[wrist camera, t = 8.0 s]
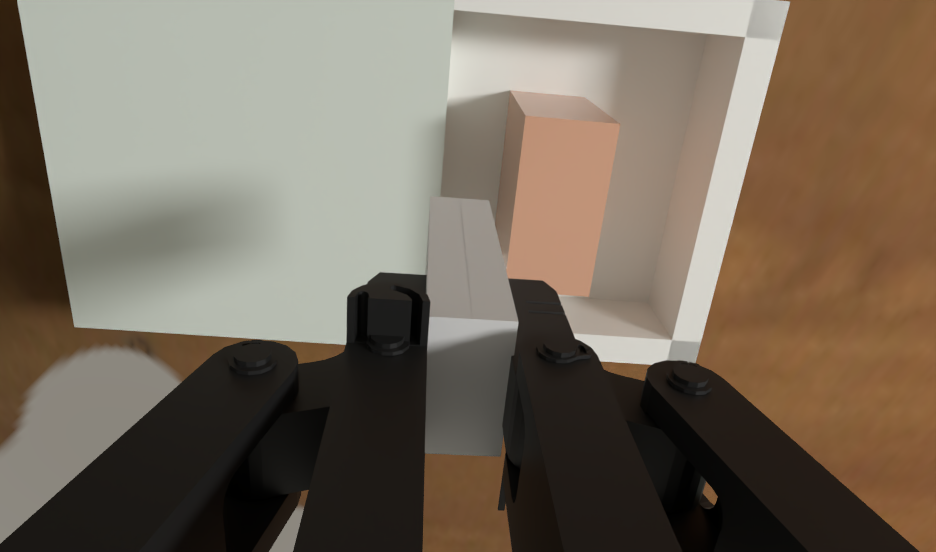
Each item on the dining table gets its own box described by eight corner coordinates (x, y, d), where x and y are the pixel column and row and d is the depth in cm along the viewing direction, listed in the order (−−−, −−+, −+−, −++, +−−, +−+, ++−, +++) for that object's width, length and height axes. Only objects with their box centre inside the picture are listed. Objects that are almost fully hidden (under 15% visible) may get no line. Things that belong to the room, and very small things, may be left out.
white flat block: (122, 285, 29) (74, 327, 25) (74, -64, 23) (4, -75, 20) (432, 306, 30) (429, 350, 26) (456, -27, 24) (456, -31, 21)
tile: (503, 290, 22) (588, 296, 22) (525, 115, 20) (620, 124, 20) (494, 232, 28) (562, 237, 28) (509, 90, 25) (584, 97, 26)
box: (432, 306, 30) (429, 350, 26) (456, -27, 24) (456, -31, 21) (665, 322, 30) (694, 367, 27) (740, 1, 25) (790, 1, 21)
